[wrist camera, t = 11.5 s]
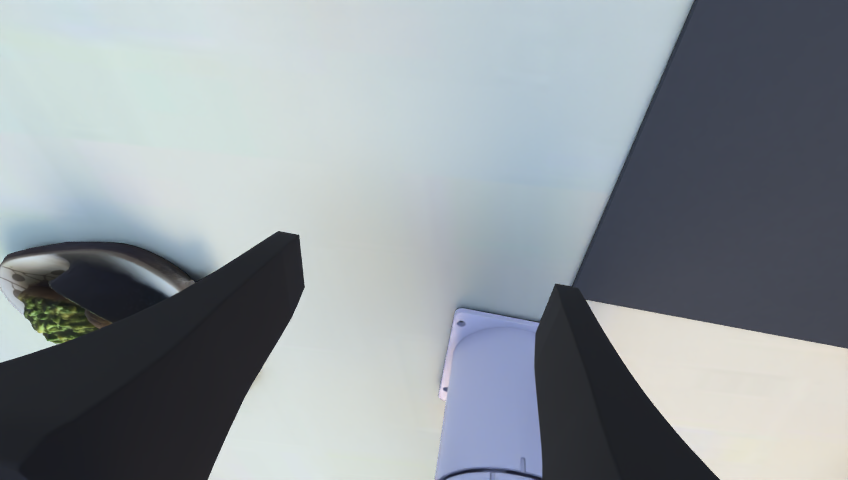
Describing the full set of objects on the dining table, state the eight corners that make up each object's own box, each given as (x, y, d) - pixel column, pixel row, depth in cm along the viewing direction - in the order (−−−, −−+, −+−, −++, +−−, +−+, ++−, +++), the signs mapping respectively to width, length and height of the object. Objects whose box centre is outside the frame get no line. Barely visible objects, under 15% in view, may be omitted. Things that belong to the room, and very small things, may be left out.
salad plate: (304, 412, 36) (280, 467, 33) (138, 402, 41) (101, 449, 37) (196, 230, 25) (143, 281, 22) (-14, 242, 30) (-89, 286, 26)
